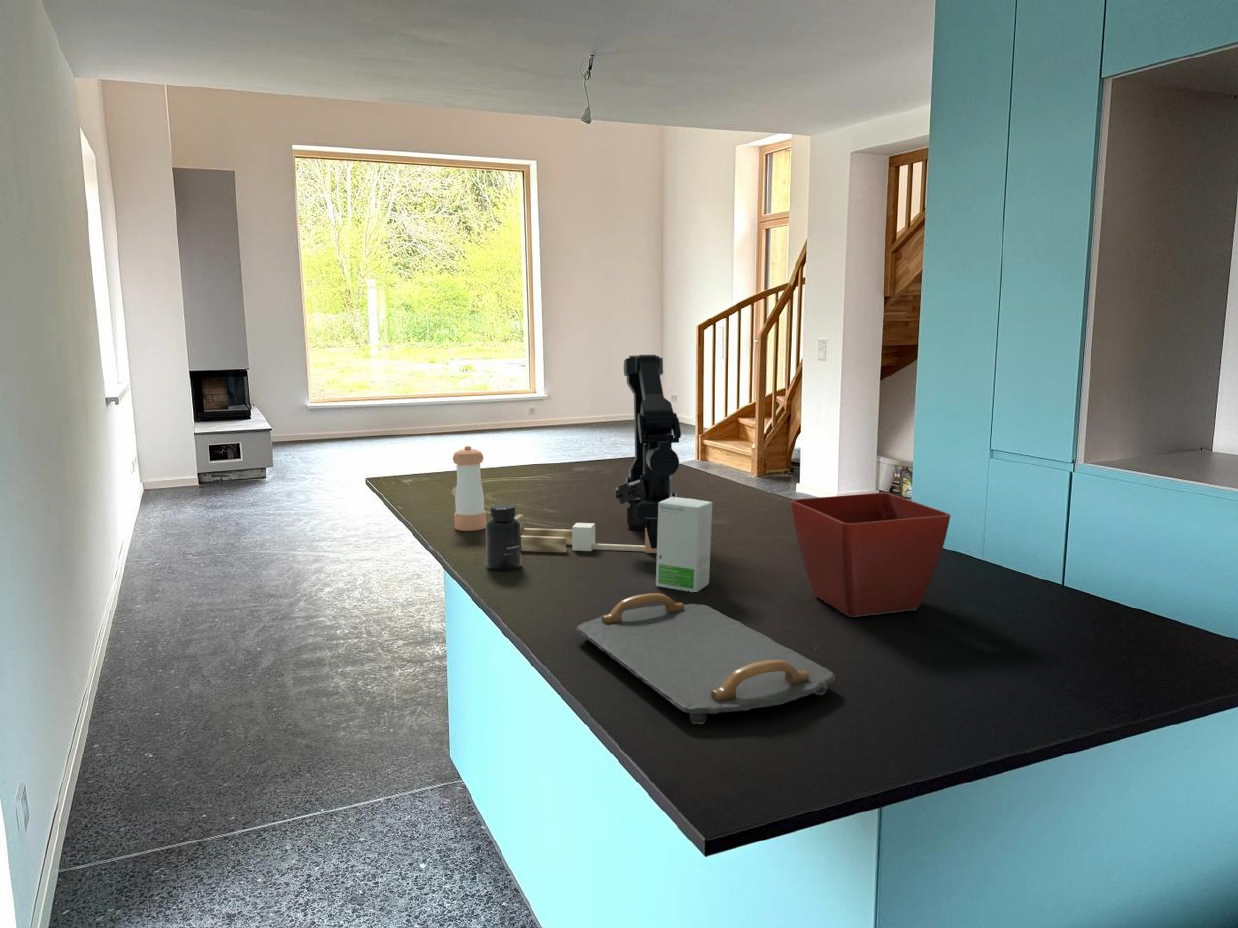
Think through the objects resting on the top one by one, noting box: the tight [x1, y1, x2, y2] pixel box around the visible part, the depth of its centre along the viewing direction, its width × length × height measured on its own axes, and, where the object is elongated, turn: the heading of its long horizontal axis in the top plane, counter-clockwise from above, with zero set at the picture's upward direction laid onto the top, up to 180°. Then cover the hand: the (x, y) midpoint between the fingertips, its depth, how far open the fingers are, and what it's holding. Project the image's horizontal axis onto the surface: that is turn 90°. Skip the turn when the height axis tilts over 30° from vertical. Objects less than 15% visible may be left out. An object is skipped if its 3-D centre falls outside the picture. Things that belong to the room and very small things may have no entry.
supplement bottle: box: [485, 504, 522, 572], centre depth 172 cm, size 7×7×12 cm
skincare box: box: [655, 496, 713, 593], centre depth 158 cm, size 8×7×16 cm
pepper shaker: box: [452, 445, 487, 532], centre depth 205 cm, size 7×7×19 cm
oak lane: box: [515, 513, 572, 553], centre depth 187 cm, size 12×8×6 cm, turn 80°
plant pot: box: [790, 492, 951, 616], centre depth 147 cm, size 19×19×17 cm
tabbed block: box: [571, 522, 657, 554], centre depth 185 cm, size 18×4×5 cm, turn 79°
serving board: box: [575, 592, 836, 722], centre depth 122 cm, size 39×23×6 cm, turn 26°
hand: (657, 542), depth 183 cm, fingers open, 9 cm apart
